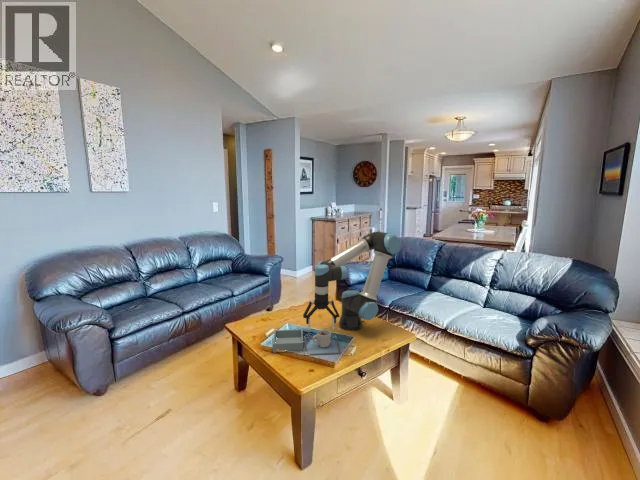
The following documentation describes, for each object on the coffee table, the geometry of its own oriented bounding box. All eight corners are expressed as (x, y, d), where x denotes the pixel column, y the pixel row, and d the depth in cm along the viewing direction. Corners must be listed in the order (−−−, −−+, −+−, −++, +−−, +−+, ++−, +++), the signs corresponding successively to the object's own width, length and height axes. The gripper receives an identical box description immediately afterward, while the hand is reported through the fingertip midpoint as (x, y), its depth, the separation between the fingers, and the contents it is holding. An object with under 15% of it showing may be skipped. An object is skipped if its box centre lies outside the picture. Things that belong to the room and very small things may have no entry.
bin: (302, 337, 186) (302, 329, 185) (303, 351, 170) (303, 342, 169) (274, 338, 185) (274, 330, 184) (272, 352, 169) (272, 344, 168)
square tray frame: (337, 337, 187) (337, 333, 187) (342, 355, 167) (342, 351, 166) (302, 338, 185) (302, 335, 185) (303, 357, 165) (303, 353, 165)
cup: (314, 350, 171) (314, 337, 169) (310, 343, 178) (310, 330, 177) (332, 347, 174) (333, 334, 172) (328, 341, 181) (328, 328, 180)
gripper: (342, 290, 176) (342, 325, 179) (298, 290, 174) (298, 326, 177) (344, 294, 168) (344, 331, 171) (299, 295, 166) (299, 332, 169)
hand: (321, 329), depth 174 cm, fingers open, 13 cm apart
